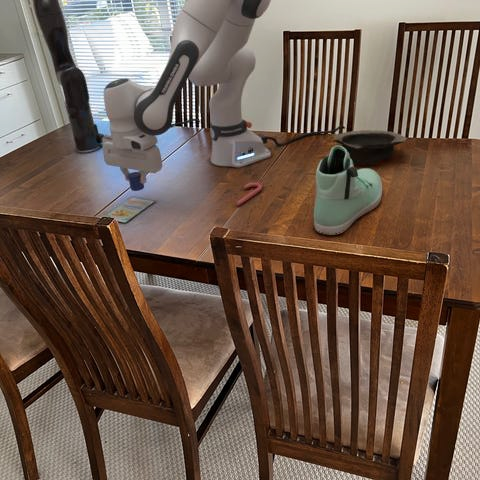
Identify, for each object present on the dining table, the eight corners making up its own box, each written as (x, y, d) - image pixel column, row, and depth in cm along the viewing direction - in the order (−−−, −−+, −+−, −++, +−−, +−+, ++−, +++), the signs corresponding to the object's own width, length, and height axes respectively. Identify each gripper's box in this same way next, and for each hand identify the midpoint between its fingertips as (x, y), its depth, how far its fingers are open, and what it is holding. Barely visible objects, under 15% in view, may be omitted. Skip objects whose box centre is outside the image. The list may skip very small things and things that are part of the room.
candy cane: (223, 203, 147) (223, 198, 147) (250, 184, 157) (250, 180, 157) (239, 207, 144) (239, 202, 143) (266, 187, 154) (265, 183, 154)
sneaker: (389, 187, 148) (396, 123, 138) (356, 242, 123) (361, 168, 112) (346, 181, 154) (350, 119, 144) (306, 232, 129) (307, 161, 118)
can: (140, 184, 150) (137, 170, 147) (146, 187, 147) (144, 174, 144) (128, 188, 148) (125, 174, 145) (134, 192, 145) (131, 178, 142)
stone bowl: (364, 175, 156) (364, 148, 152) (319, 158, 176) (318, 133, 172) (421, 157, 165) (422, 130, 161) (371, 142, 185) (372, 118, 181)
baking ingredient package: (101, 217, 143) (132, 196, 155) (101, 218, 144) (132, 197, 155) (125, 221, 140) (154, 200, 151) (125, 223, 140) (154, 201, 152)
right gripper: (93, 137, 141) (104, 180, 149) (147, 145, 132) (155, 191, 139) (108, 130, 146) (118, 172, 153) (161, 138, 137) (168, 182, 144)
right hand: (136, 181), depth 146 cm, fingers closed on can, 4 cm apart
